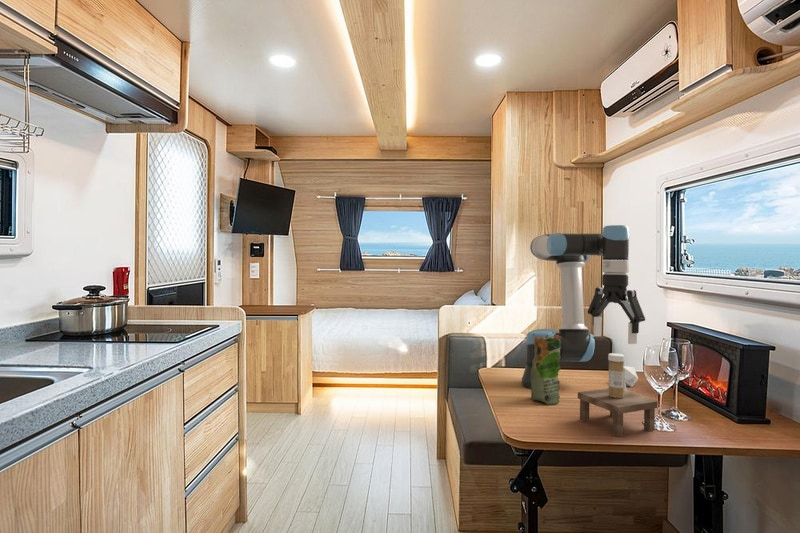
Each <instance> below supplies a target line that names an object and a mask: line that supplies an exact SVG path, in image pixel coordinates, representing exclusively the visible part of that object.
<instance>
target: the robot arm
mask: <svg viewBox="0 0 800 533" xmlns="http://www.w3.org/2000/svg"><path fill="white" fill-rule="evenodd" d="M629 231H630V230H629V227H628V226H627V225H623V224H621V225H620V224H619V225H618V224H617V225H616V224H615V225H614V224H613V225H611V224H610V225H605V226H603V228H602V233H561V232H557V233H545V234H541V235H538V236H536V237H534V238H533V239H532V241H531V243H530V246H529V248H530V252H531V253H532V255H533V256H534V257H535V258H537V259H540V260H542V261H549V262H550V261H555V265H556V267H557V268H558V269H559V270H560V271H559V272H560V295H561V296H560V298H561V319H562V322H561V323H562V324H561V325H560V327H559V328H558V332H556V330H555V329H553V328H537V329H531V330H530V331H528V332H527V333H526V338H525V346H526V347H525V367H524V371H523V373H522V374H523V375H522V377H521V385H522V386H523V387H524V388H529V389H531V380H530V378H531V368H532V363H533V361H532V360H533V359H534V356H535V346H534V339H533V338H534V337H535V336H536V337H539V338H540V337H543V338H544V337H546V335H548V336H549V337H550V336H553V335H559V336H562V337H561V342H562V343H561V348H560V357H561V358H560V361H559V362H577V363H580V362H588V361H590V360H591V359H592V357H593V355H594V352H595V345H596V342H595V339H594V338H595V337H602V330H603V329H602V325H603V323H602V321H603V318H602V316H601V314H602V313H603V312H604V310H605V309H606V308H607V307H608V306H609V304H610V303H614V304H618V305H619V306H621V308H622V310H623V312H624V313H625V314H626V316H627V318H628V319H629V322H628V323H627V325H628V326H627V327H628V328H627V331H628V332H627V333H628V334H627V335H628V336H627V337H628V338H627V344H628V345H635V344H637V343H638V334H639V332H640V330H639V329H640V325H639V324H640V323H642V322H646V317H645V315H644V313H643V310H642V307H641V305H640V303H639V300H638V297H637V290H636V289H628V286H629V275H628V273H629V262H630V261H629V251H630V248H629V247H630V232H629ZM590 256H597V257H602V265H601V266H602V273H604V274H602V275H601V285H602V286H603V287H602V286H601V287H600V286H599V287H595V289H594V295H593V298H592V300H591V302H590V304H589V307H588V309H587V314H589V315H591V317H592V326H593V334H592V333H590V331H589V327H587V326H586V325H585V316H584V315H585V313H584V312H585V311H584V310H585V309H584V290H583V289H584V287H583V272H582V271H583V267H584V266H585V265H586V262H587V261H589V259H590Z"/></svg>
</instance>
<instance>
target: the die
mask: <svg viewBox="0 0 800 533" xmlns="http://www.w3.org/2000/svg"><path fill="white" fill-rule="evenodd" d="M624 376H626V379H625V384H626V387H629V388H632V387H634V386H635V385H636V382H637V381H638V380H639V377H638V375H637V372H636V369H635V367H634V366H628V365H627V366H626V365H624Z"/></svg>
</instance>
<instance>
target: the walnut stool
mask: <svg viewBox="0 0 800 533" xmlns="http://www.w3.org/2000/svg"><path fill="white" fill-rule="evenodd" d="M627 391H628V390H627ZM627 391H624V398H613V397H610V396H609V395H608V394H609V387H608V388H600V389H592V390H585V391H578V392H577V399H579V420H580V421H581V422H583V423H587V422H590V404H592V405H594V406H596V407H599V408H601V409H605V411H609V416H611V417H612V426H611V427H612V430H611V431H612V435H613V436H614V437H617V438H620V437H624V414H627V413H634V412H640V411H643V414H644V415H643V430H646V431H648V432H652V431H655V424H656V423H655V422H656V421H655V417H656V415H655V409H658V401H657V400H654V399H651V398H648V397H646V396H642V395H639V394H636V393H632V392H629V391H628V392H627Z"/></svg>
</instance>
